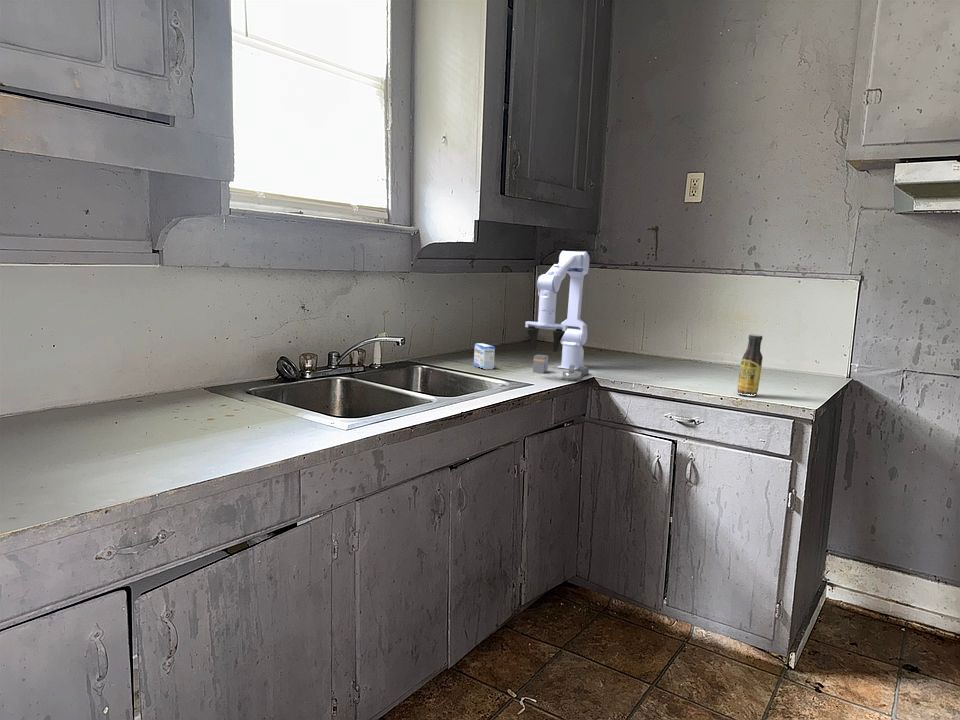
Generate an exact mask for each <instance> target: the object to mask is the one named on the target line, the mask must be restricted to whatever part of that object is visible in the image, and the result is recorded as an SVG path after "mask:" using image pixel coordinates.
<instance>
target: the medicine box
mask: <svg viewBox="0 0 960 720" xmlns="http://www.w3.org/2000/svg"><path fill="white" fill-rule="evenodd" d="M495 349H496V347H495V345H494V346H493V345H490V344H486V343H483V342H482V343H480V342H479V343H475V344H474V351H473V352H474V353H473V355H474V356H473V367H474V366H477V367H480V368H483V369H493V368H494V367H495V355H496V354H495V353H496V352H495ZM477 367H476V368H477ZM480 368H479V369H480ZM483 369H482V370H483ZM493 370H494V369H493Z"/></svg>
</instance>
